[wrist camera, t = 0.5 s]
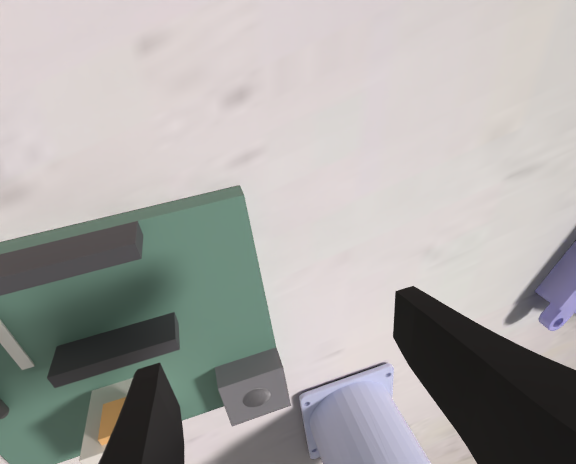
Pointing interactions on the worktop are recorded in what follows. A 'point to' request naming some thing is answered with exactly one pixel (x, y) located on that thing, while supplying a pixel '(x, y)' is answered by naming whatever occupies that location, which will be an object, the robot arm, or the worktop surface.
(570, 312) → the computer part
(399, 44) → the worktop surface
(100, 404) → the plug
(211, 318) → the board
